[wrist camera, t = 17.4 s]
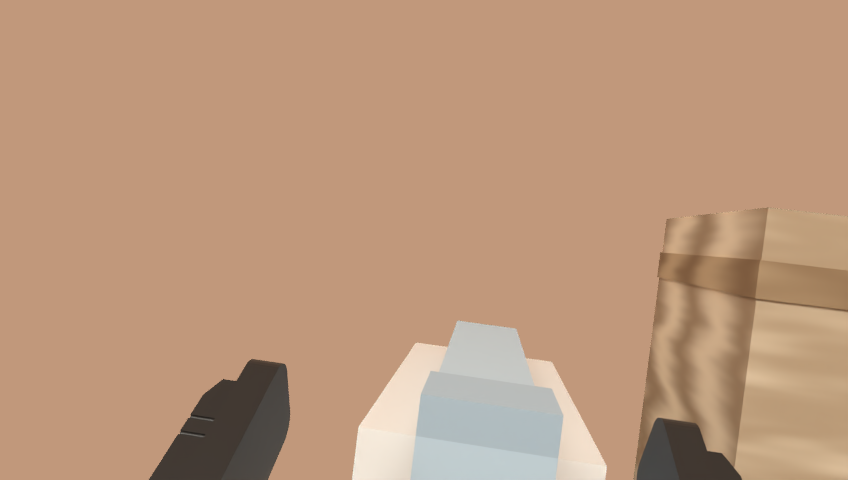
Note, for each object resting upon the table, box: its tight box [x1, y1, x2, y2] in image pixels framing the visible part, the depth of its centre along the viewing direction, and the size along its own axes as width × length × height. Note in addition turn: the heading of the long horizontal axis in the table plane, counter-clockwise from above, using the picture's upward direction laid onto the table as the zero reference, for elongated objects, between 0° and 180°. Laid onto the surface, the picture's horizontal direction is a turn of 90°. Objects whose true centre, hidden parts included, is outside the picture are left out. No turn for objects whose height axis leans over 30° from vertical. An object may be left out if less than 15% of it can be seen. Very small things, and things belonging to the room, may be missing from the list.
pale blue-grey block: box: [410, 321, 563, 480], centre depth 29 cm, size 24×4×4 cm, turn 174°
